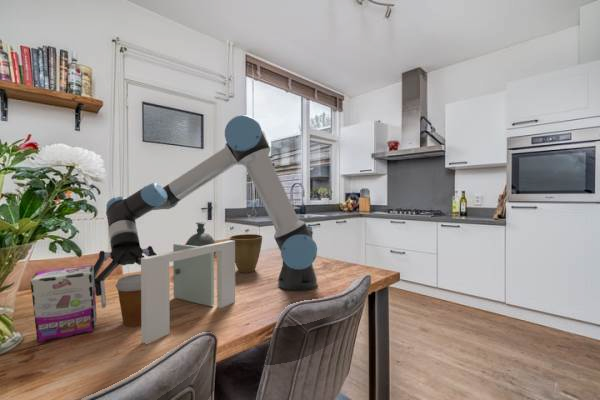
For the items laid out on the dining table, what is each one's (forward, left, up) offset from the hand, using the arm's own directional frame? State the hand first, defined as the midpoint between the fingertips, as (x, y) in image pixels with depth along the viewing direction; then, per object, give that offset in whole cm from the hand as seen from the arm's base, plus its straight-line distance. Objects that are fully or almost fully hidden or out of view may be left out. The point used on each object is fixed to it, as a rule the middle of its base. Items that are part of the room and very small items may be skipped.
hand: (134, 299), depth 76 cm
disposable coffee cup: (0, 0, -6) cm, 6 cm away
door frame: (-15, -7, -6) cm, 18 cm away
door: (-5, -17, -6) cm, 19 cm away
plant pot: (-3, -56, -6) cm, 56 cm away
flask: (+20, -53, -6) cm, 57 cm away
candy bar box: (+10, +10, -6) cm, 15 cm away
